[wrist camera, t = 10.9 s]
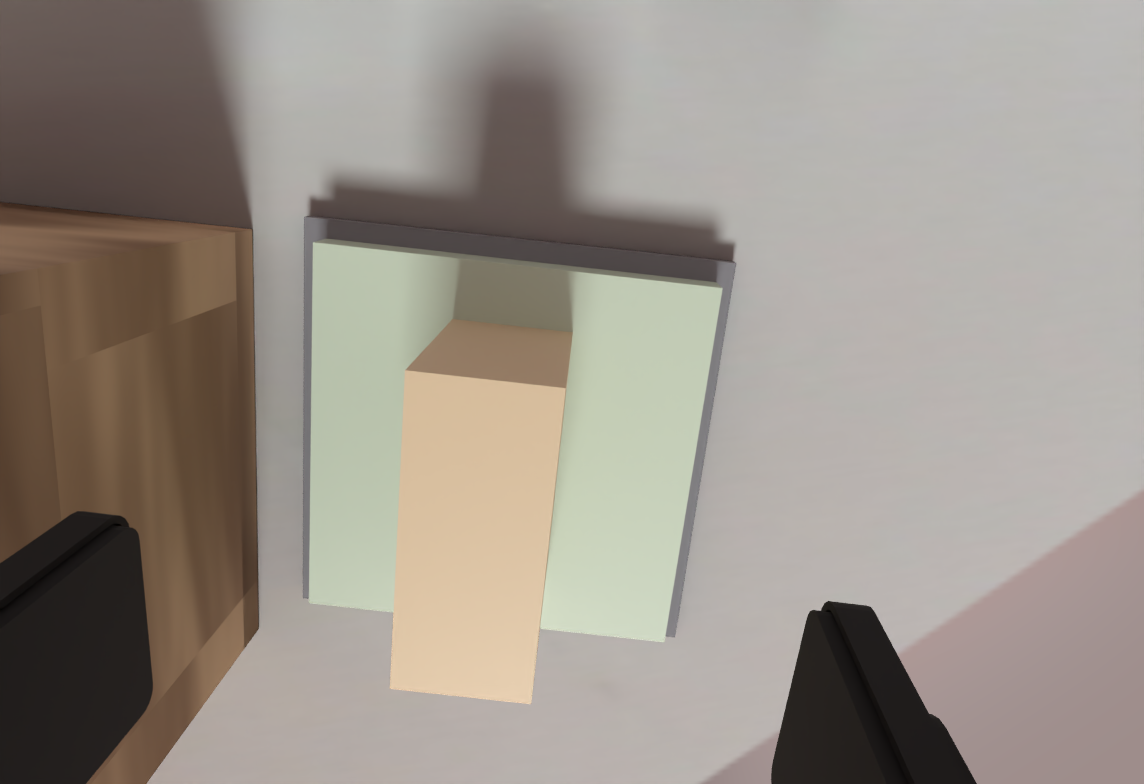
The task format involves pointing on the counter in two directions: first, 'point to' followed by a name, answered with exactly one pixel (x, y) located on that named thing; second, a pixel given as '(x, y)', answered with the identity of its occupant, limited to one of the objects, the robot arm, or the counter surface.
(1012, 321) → the counter surface
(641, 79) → the counter surface
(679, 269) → the mat
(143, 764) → the crate
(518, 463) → the lid
